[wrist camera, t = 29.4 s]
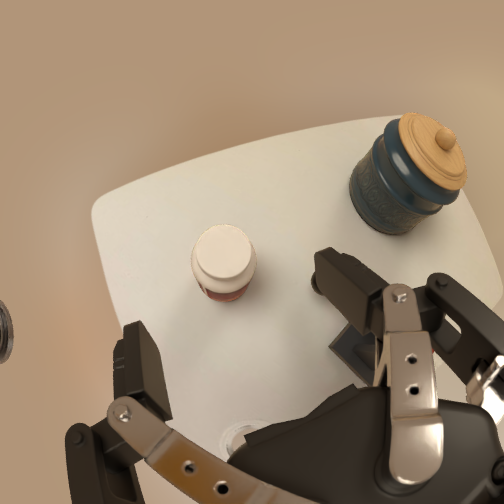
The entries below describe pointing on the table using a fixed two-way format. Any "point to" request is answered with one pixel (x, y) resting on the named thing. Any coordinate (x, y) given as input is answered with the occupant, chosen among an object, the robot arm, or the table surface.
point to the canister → (408, 174)
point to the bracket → (356, 352)
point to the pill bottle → (223, 262)
